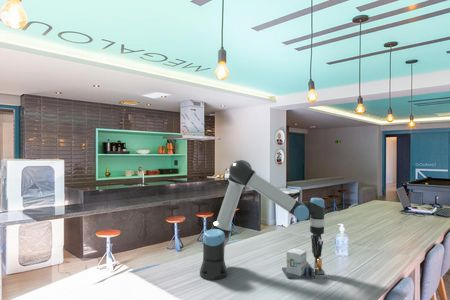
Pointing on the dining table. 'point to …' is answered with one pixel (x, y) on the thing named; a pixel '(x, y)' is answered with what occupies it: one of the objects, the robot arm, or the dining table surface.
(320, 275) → the rails
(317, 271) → the lever
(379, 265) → the dining table surface
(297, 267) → the ink box
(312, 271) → the bed
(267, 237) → the dining table surface
